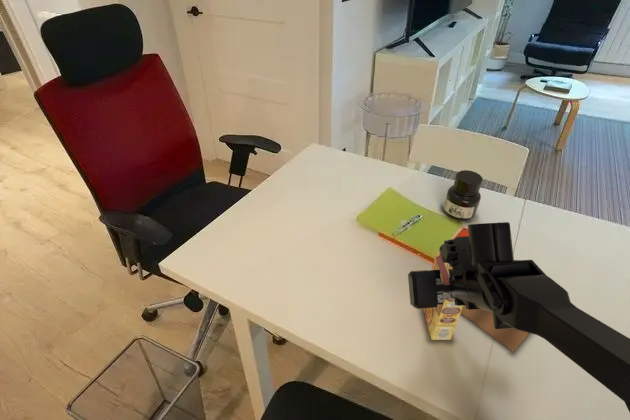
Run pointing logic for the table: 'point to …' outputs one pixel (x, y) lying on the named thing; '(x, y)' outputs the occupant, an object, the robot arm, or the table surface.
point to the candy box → (442, 309)
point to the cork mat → (485, 322)
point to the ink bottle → (463, 196)
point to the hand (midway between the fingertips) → (444, 282)
